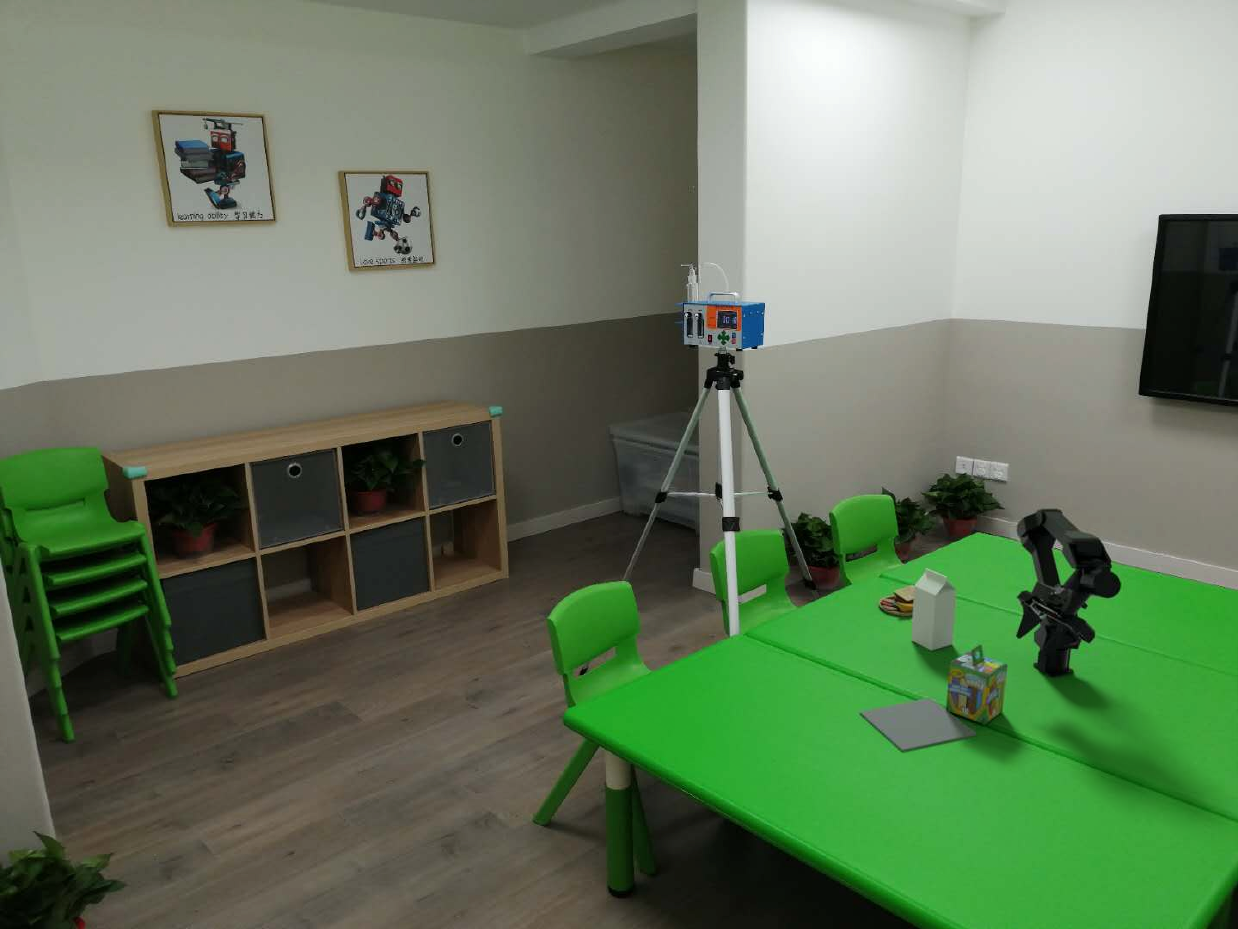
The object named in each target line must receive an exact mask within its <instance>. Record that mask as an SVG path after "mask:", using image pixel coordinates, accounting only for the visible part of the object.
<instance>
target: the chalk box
mask: <svg viewBox="0 0 1238 929" xmlns="http://www.w3.org/2000/svg"><path fill="white" fill-rule="evenodd" d="M977 652H978V653H979V654H978V653H977ZM1007 672H1008V663H1005V662H1002V661H1000V660H999V661H998V660H996V659H994V658H993V657H989V656H986V655H984V651H983V646H982V644H978V645H976V646H974V648H972V649H971V650H970V651H966V652H965V653H963V654H962V655H960V656H958V657H956V658H954V659H953V660H951V661H950V662H949V672H948V683H947V692H946V693H947V695H946V707H945V709H946V710H947V711H948V712H950V713H951V714H956V715H958V716H961V717H963V718H967V719H969V720H971V721H974V722H976V723H977V722H978V723H980V724H981V725H986V724H988V722H990V721H991V720H993V719H994V718H996V717H997V716H998V715H999V714H1001V713H1003V707H1004V700H1005V693H1006V692H1005V690H1006V682H1007Z"/></svg>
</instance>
